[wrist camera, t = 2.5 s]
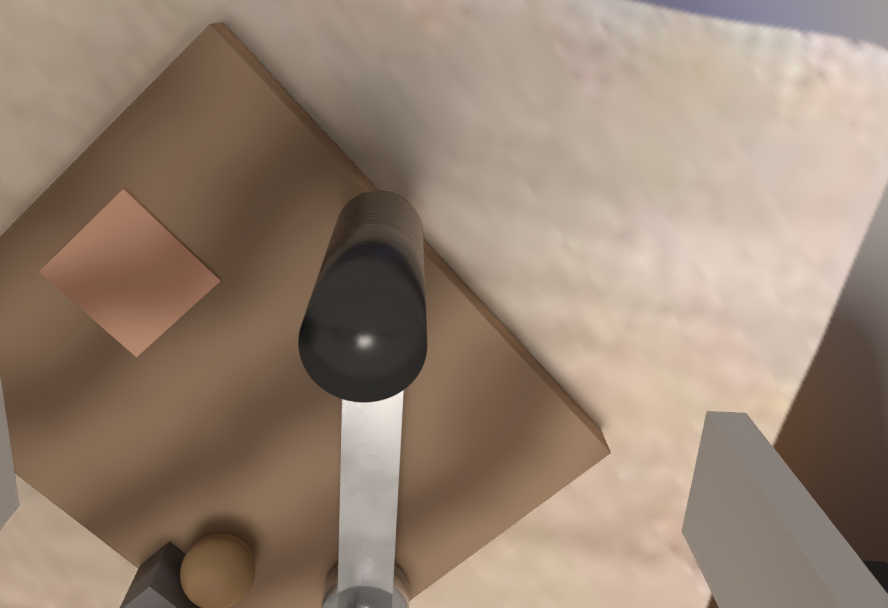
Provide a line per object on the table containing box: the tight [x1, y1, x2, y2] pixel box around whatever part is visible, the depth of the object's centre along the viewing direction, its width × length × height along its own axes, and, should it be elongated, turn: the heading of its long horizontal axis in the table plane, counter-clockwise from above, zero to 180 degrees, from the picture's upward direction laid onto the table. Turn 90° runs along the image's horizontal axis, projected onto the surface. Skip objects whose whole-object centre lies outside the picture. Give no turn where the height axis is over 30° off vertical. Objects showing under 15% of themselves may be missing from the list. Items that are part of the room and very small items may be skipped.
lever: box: [298, 191, 427, 608], centre depth 29 cm, size 22×4×12 cm, turn 176°
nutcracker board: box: [0, 22, 611, 608], centre depth 34 cm, size 24×20×5 cm
